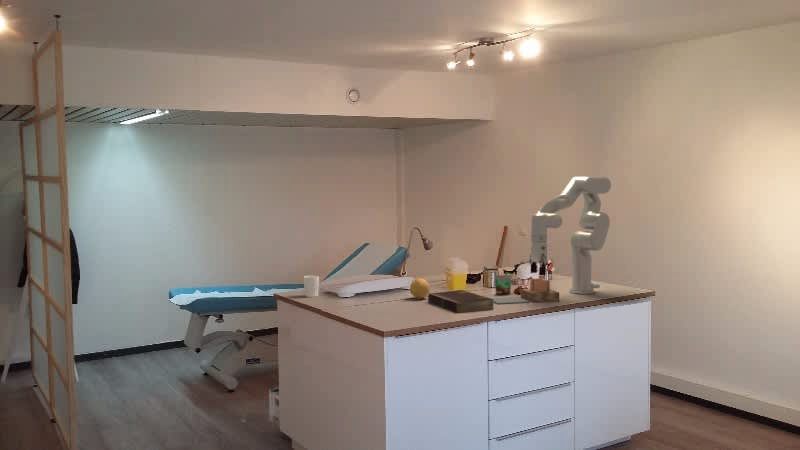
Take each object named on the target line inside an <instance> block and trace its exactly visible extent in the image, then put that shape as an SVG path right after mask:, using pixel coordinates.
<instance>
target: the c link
mask: <svg viewBox="0 0 800 450" xmlns="http://www.w3.org/2000/svg"><path fill="white" fill-rule="evenodd" d="M529 280H530V282H529V289H530V290H531V291H534V292H550V286H551V285H550V282H551V280H549V279H546V278H530V279H529Z"/></svg>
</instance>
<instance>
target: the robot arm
mask: <svg viewBox="0 0 800 450" xmlns="http://www.w3.org/2000/svg"><path fill="white" fill-rule="evenodd" d="M611 188H612V182H611V180H610V179H609V178H608V177H605V176H574V177H571V178H570V179H569V180H568V182H567V183H566V185H565V186H564V187H563V188H562V190H561V191H560V193H559V194H558V195H557V196H555V197H553V198H551V199H550V200H548V201H547V202H546V203H544V204H543V205H542V206H541V207H540V209H538V211H537V213H534V214H532V216H531V231H530V232H531V233H530V235H531V236H530V242H531V244H530V246H531V247H530V255H529V261H530V274H537V273H538V275H539V276H543V277H544V276H546V274H547V271H546V269H547V263H548V261H549V260H548V254H549V253H548V244H547V243H548V242H547V241H548V229H551V230H555V229H556V230H557V229H559V228H560V227H561V226H562V225H563V218H562V216H561V215H560V214H557V212H560V211H563V210H567V209H569V208H571V207H572V206H573V205H574V204H575V202H577V199H578V198H579V197H580V196H581V194H582V195H583V198H584V199H583V200H584V203H583V207H582V211H581V213H580V216H579V221H578V225H579V227H580V228H581V229H582V230H578V231H575V232H573V233H572V234H571V235H570V247H571V252H572V253H571V254H572V258H571V259H572V264H571V265H572V268H571V272H572V273H571V278H572V280H571V288H569V289H568V292H569V293H571V294H577V293H578V294H579V295H580V294H581V295H588V294H589V295H590V294H594V293H595V289H599V288H601V285H600V284H599V283H597V284H594V283H592V255H591V253H590V251H592V252H599V251H601V250H602V249H603V247H604V245H605V242H606V239H607V235H608V232H609V230H610V226H611V224H610V221H611V219H610V217H609V215H608V214H607V213H606V212H603V211H601V206H602V201H601V199H600V196H599V195H601V194H602V195H603V194H607V193H609V192H610V190H611ZM585 230H586V231H585ZM587 230H588V231H587ZM538 265H539V268H538Z"/></svg>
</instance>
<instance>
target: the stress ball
mask: <svg viewBox="0 0 800 450" xmlns="http://www.w3.org/2000/svg"><path fill="white" fill-rule="evenodd" d="M430 286H431V285H430V283H429V282H428V281H427V280H426V279H424V278H421V277H420V278H419V277H418V278H416V279H413V280H412V281H411V284H410V286H409V291H410V294H411V295H412V297H414V298H416V299H418V300H421V299H424V298H426V297H428V294H429V293H430V290H431V287H430Z"/></svg>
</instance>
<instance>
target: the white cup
mask: <svg viewBox="0 0 800 450" xmlns="http://www.w3.org/2000/svg"><path fill="white" fill-rule="evenodd" d="M319 289H320V276H319V275H313V274H311V275H304V276H303V291H304V297H306V298H317V297H319ZM316 296H317V297H316Z"/></svg>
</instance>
